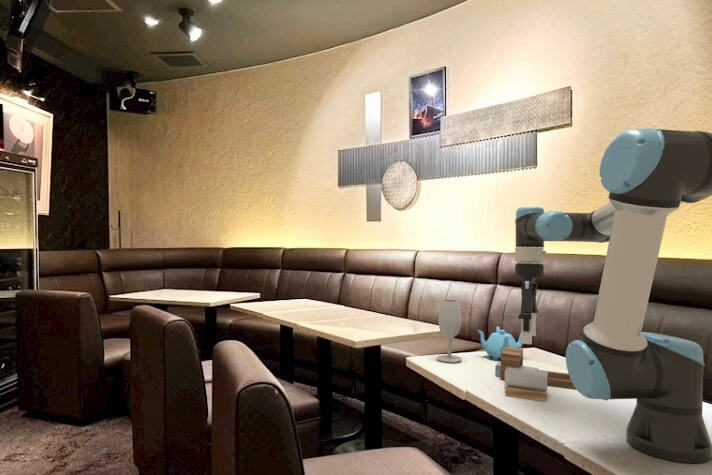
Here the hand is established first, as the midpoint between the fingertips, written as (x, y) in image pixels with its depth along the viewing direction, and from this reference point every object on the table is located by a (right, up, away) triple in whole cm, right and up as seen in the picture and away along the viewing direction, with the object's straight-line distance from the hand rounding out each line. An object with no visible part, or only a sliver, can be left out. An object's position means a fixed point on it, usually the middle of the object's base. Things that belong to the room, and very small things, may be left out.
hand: (528, 339), depth 136 cm
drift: (+2, -15, +15) cm, 22 cm away
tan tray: (0, -15, 0) cm, 15 cm away
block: (-1, -14, +1) cm, 14 cm away
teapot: (+4, -15, +40) cm, 43 cm away
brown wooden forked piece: (+9, -15, +13) cm, 22 cm away
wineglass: (-15, -15, +36) cm, 42 cm away
